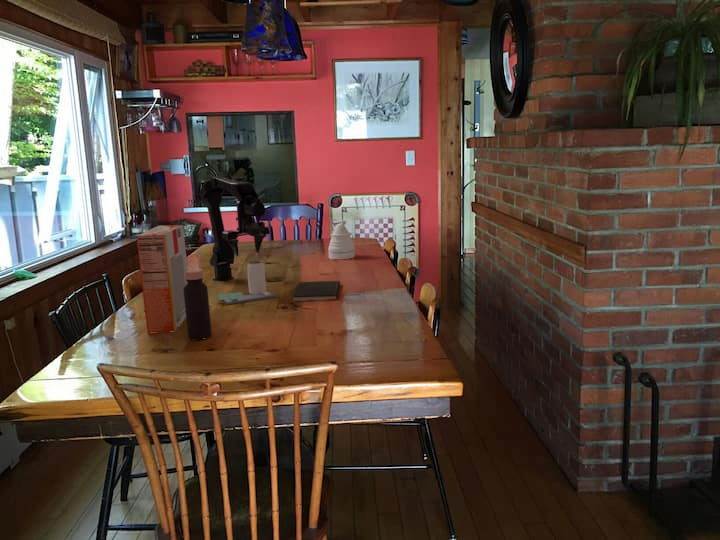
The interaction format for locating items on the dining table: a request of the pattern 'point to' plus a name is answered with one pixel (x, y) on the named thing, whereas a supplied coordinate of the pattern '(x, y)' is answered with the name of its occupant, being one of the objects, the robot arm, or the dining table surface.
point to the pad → (229, 295)
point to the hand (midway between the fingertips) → (247, 254)
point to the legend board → (249, 297)
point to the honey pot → (341, 243)
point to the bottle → (197, 305)
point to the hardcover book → (316, 290)
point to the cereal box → (163, 276)
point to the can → (256, 277)
